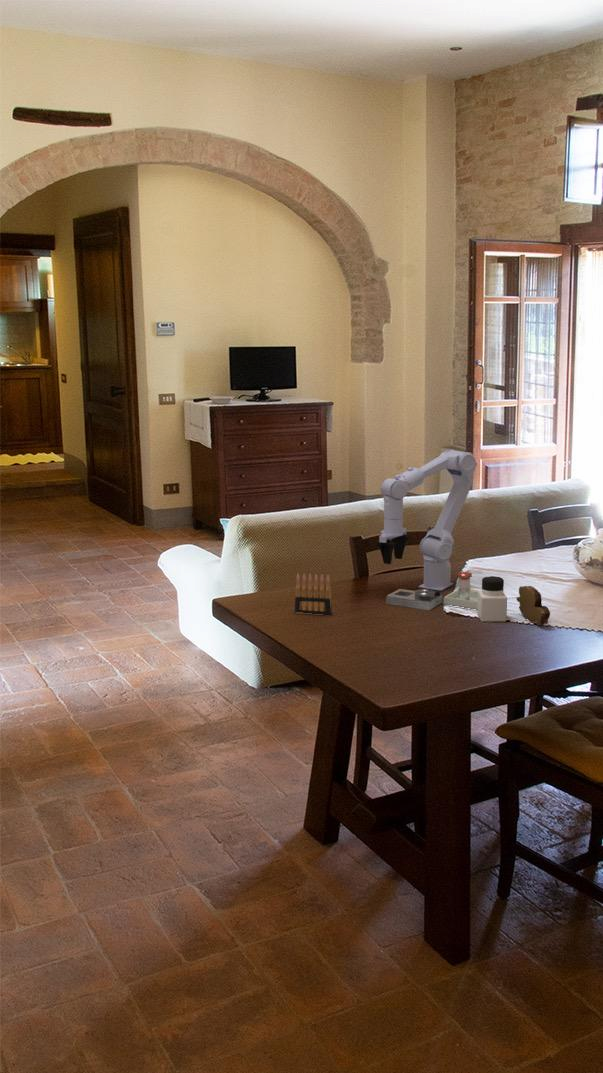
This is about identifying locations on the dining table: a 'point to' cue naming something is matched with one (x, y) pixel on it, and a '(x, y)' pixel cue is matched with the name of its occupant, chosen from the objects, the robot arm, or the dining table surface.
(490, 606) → the medicine bottle
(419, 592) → the grey fixture block
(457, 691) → the dining table surface
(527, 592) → the wooden carving
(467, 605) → the tray
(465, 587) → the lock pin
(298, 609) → the ammunition clip
